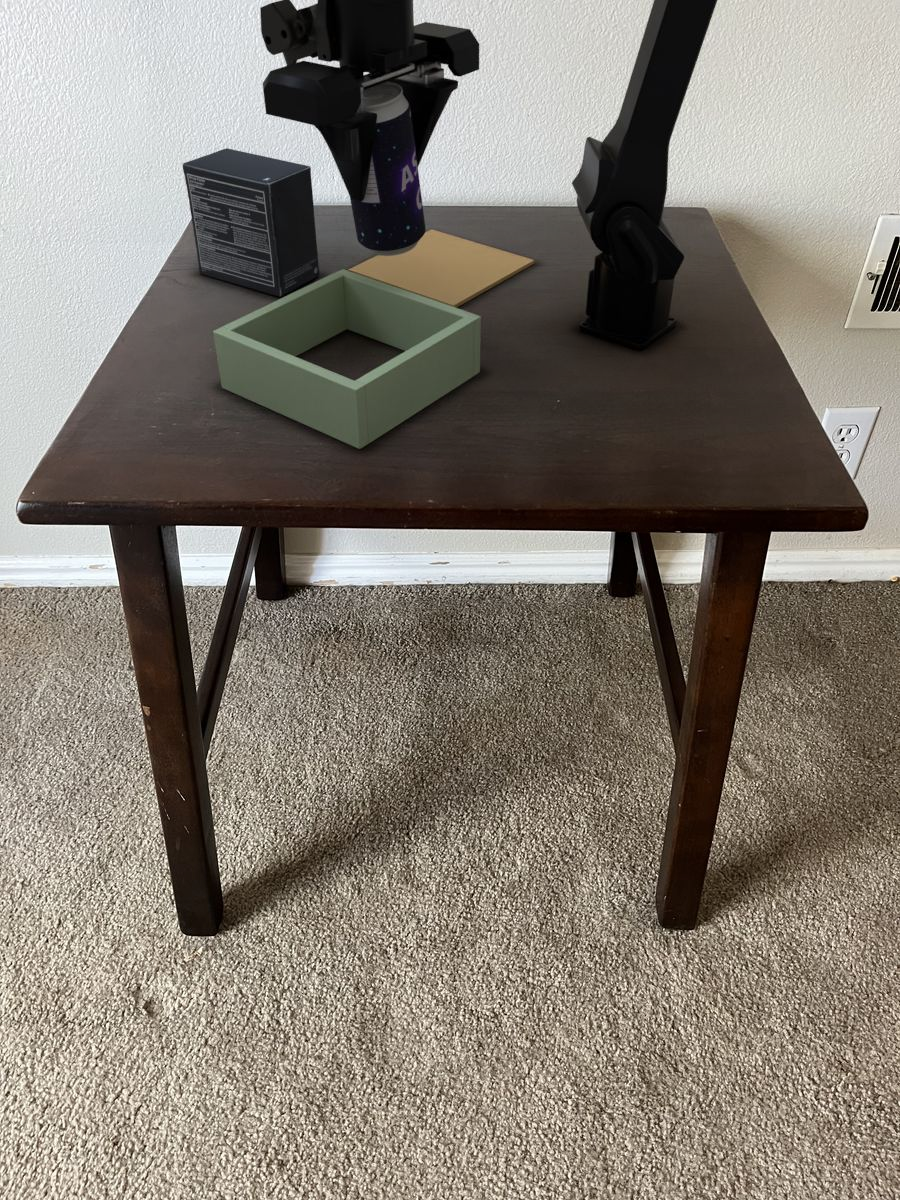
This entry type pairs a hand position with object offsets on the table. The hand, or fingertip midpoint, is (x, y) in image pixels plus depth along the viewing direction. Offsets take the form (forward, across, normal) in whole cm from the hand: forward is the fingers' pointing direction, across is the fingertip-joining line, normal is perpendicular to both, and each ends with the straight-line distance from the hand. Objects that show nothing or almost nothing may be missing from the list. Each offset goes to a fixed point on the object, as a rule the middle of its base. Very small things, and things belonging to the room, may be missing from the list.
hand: (383, 188), depth 83 cm
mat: (+13, -14, -5) cm, 20 cm away
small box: (+13, -2, -18) cm, 23 cm away
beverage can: (+5, -1, 0) cm, 5 cm away
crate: (+13, +8, +2) cm, 15 cm away
